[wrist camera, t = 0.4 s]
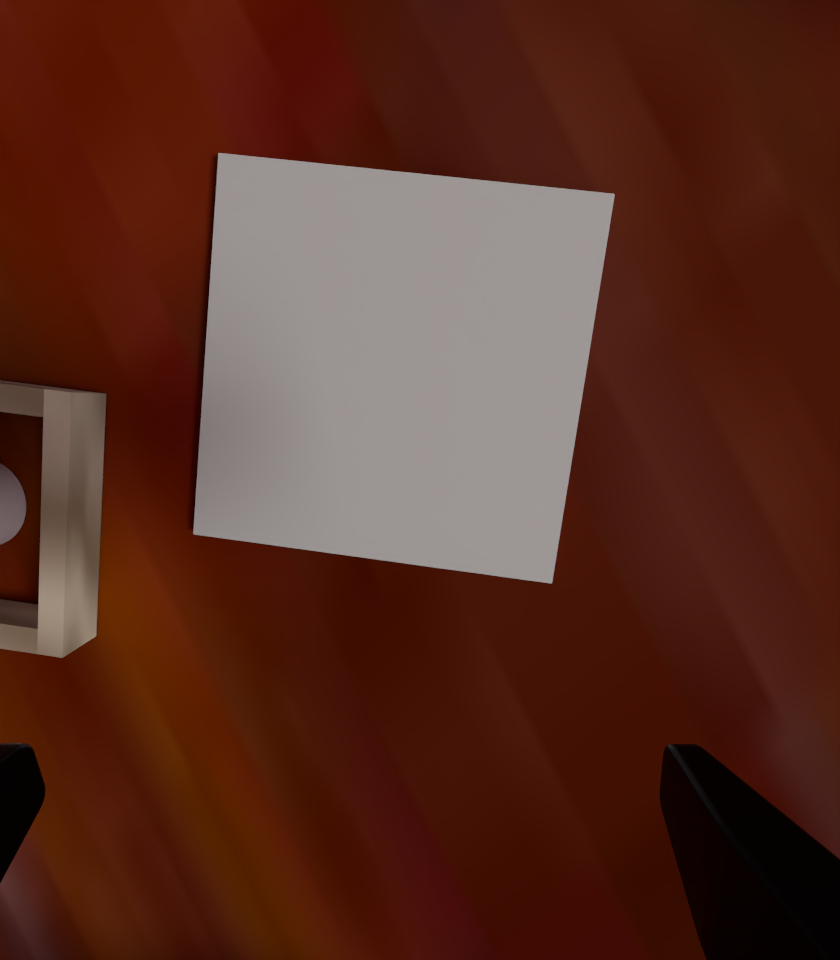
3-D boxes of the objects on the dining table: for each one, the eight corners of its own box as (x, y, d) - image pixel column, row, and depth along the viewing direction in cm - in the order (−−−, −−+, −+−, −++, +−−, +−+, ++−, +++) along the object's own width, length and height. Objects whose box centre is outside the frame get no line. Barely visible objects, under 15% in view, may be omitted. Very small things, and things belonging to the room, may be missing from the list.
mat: (550, 580, 22) (551, 583, 21) (197, 532, 22) (193, 534, 22) (611, 198, 20) (614, 193, 19) (222, 157, 20) (218, 152, 20)
